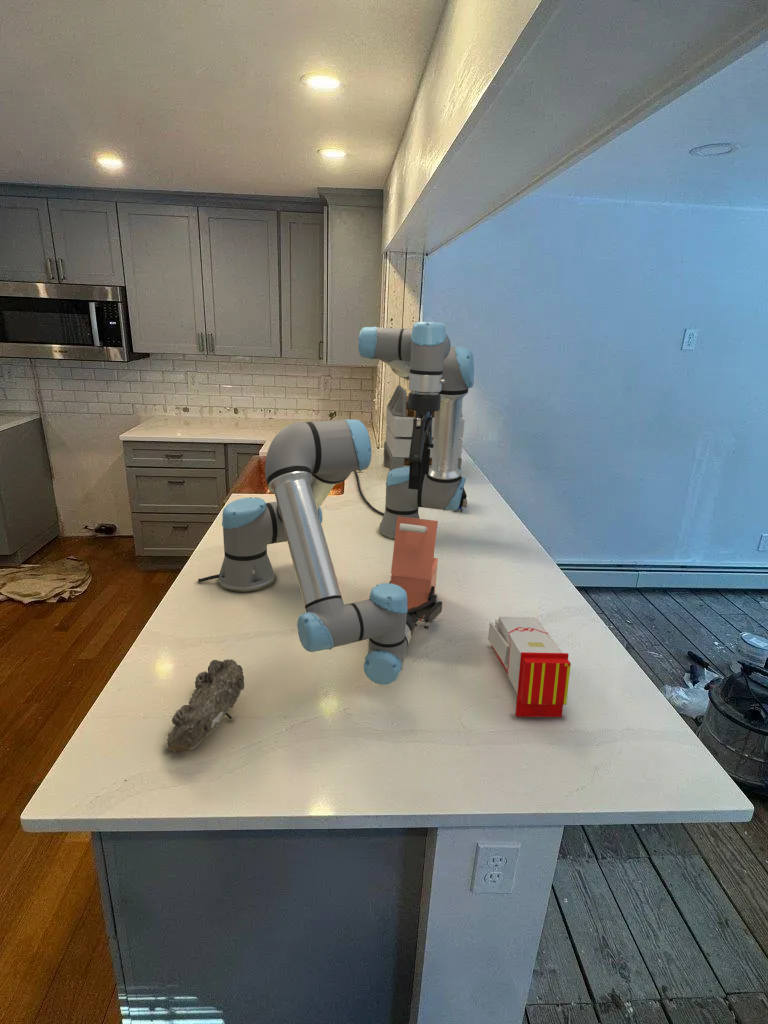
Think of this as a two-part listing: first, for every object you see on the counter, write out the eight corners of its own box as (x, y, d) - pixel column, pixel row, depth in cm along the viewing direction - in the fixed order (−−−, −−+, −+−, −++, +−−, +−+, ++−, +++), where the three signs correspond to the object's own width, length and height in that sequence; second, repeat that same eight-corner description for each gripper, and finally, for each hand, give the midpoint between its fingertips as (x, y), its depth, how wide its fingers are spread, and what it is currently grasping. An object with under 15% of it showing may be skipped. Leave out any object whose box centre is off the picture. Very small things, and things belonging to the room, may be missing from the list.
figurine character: (467, 516, 223) (461, 500, 237) (469, 499, 220) (463, 483, 233) (450, 516, 223) (446, 499, 236) (452, 498, 220) (447, 483, 233)
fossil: (192, 660, 117) (244, 628, 112) (224, 691, 120) (276, 661, 115) (142, 746, 98) (202, 712, 93) (182, 779, 101) (242, 748, 96)
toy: (534, 602, 136) (579, 659, 107) (529, 653, 139) (572, 723, 110) (484, 601, 136) (516, 658, 107) (480, 652, 139) (510, 722, 109)
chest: (399, 589, 160) (401, 553, 157) (435, 594, 158) (438, 558, 155) (388, 614, 147) (391, 575, 144) (427, 619, 145) (430, 580, 142)
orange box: (397, 516, 143) (392, 516, 135) (437, 520, 142) (434, 521, 133) (391, 573, 144) (385, 577, 136) (431, 578, 142) (427, 583, 134)
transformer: (382, 463, 289) (386, 382, 275) (445, 464, 293) (451, 384, 279) (390, 482, 257) (394, 392, 243) (460, 483, 261) (468, 394, 247)
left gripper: (345, 639, 130) (369, 594, 151) (444, 654, 126) (454, 607, 146) (346, 610, 128) (370, 569, 148) (447, 625, 123) (457, 581, 144)
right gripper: (433, 401, 118) (426, 497, 125) (447, 387, 141) (440, 469, 148) (398, 398, 120) (393, 494, 127) (417, 385, 143) (412, 466, 150)
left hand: (412, 588), depth 147 cm, fingers closed on chest, 10 cm apart
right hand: (418, 481), depth 138 cm, fingers open, 13 cm apart
